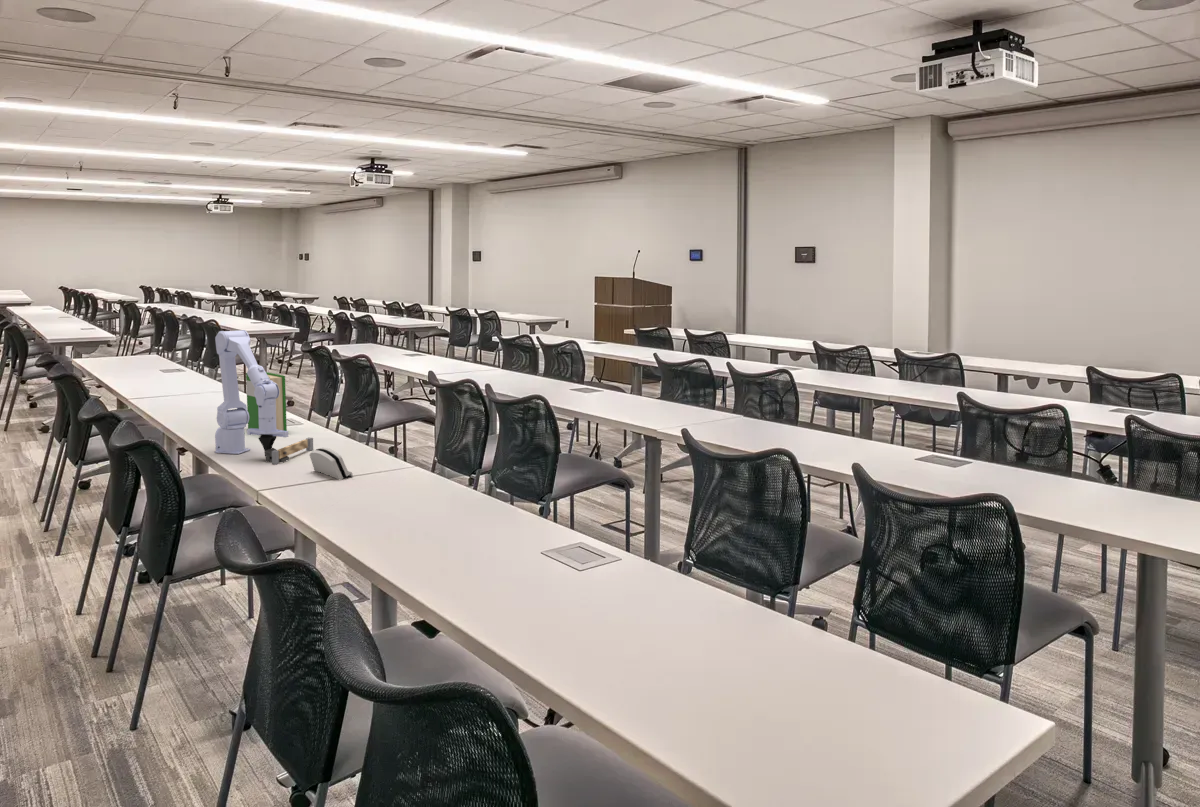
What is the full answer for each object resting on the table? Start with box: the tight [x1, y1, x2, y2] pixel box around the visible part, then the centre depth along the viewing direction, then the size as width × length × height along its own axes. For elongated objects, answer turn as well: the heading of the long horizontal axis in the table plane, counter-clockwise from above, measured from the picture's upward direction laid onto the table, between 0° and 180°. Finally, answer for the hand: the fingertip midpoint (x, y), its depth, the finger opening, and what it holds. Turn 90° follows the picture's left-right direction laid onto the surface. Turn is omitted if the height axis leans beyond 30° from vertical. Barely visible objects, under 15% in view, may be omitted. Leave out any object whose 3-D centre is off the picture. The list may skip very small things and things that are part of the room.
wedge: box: [263, 447, 290, 463], centre depth 298 cm, size 6×5×4 cm
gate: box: [276, 438, 308, 459], centre depth 305 cm, size 21×2×3 cm, turn 171°
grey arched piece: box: [308, 447, 354, 480], centre depth 280 cm, size 17×5×10 cm, turn 47°
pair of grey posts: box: [271, 437, 314, 465], centre depth 305 cm, size 2×25×4 cm, turn 170°
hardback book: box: [245, 371, 288, 431], centre depth 344 cm, size 18×7×24 cm, turn 48°
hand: (268, 456), depth 299 cm, fingers closed, pressing on wedge
